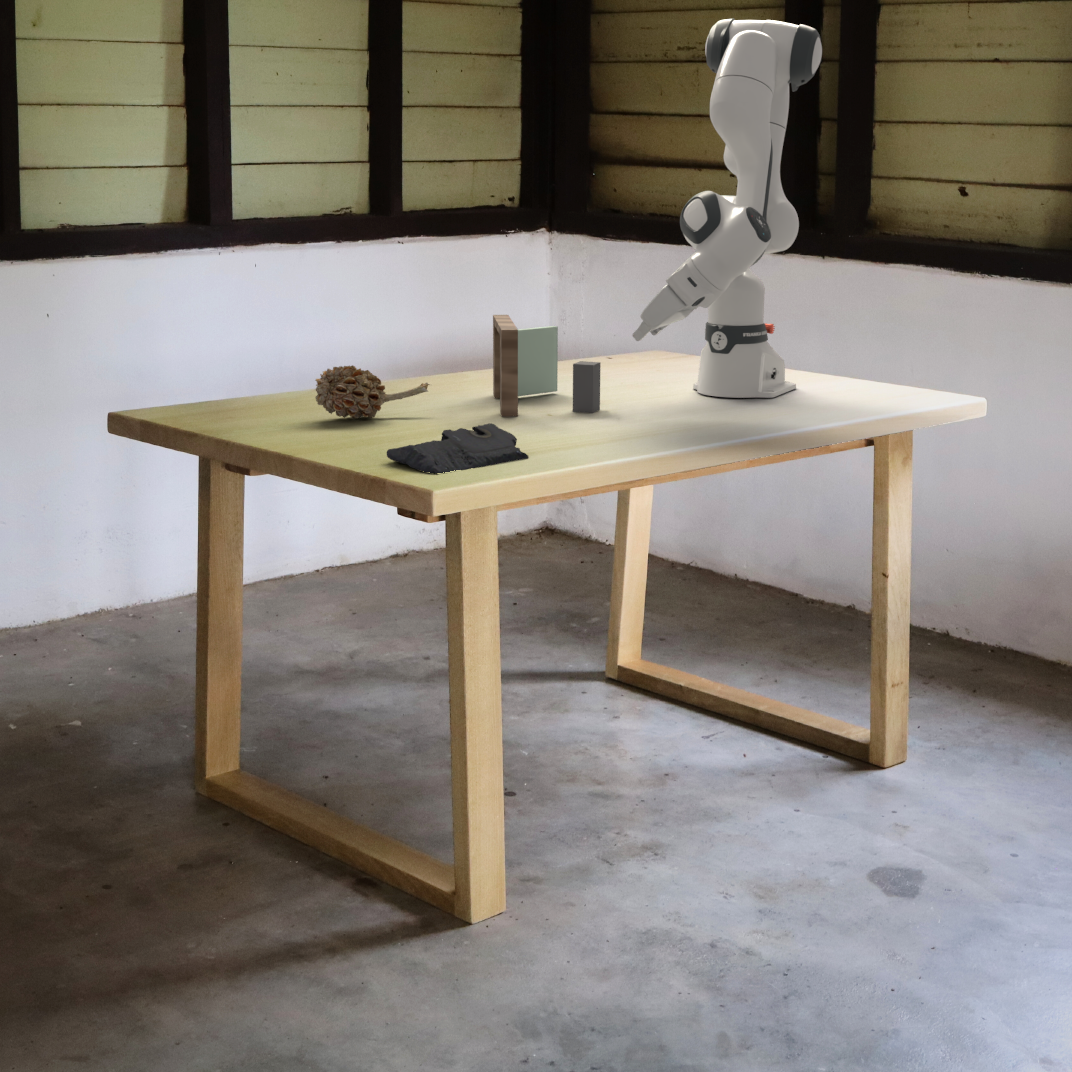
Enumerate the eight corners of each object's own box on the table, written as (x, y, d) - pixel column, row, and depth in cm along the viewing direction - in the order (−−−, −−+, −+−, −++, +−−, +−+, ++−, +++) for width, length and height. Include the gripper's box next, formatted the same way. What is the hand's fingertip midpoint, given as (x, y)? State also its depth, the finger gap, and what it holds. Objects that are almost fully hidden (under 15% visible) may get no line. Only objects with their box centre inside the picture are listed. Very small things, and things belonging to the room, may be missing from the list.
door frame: (493, 395, 303) (492, 314, 299) (508, 394, 303) (508, 314, 299) (501, 416, 279) (501, 329, 275) (517, 416, 279) (517, 329, 275)
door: (507, 397, 297) (507, 331, 293) (498, 396, 299) (498, 330, 295) (557, 391, 305) (557, 326, 301) (548, 389, 307) (548, 325, 304)
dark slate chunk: (372, 464, 240) (371, 434, 239) (476, 445, 255) (476, 417, 254) (433, 479, 230) (433, 448, 228) (538, 459, 244) (538, 430, 243)
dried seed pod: (325, 426, 269) (323, 371, 266) (307, 418, 277) (305, 364, 275) (438, 417, 279) (438, 363, 276) (418, 409, 287) (417, 356, 284)
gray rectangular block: (580, 408, 289) (580, 361, 286) (599, 409, 287) (600, 362, 285) (572, 411, 285) (573, 363, 283) (592, 412, 284) (593, 365, 281)
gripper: (701, 266, 282) (650, 317, 288) (668, 275, 263) (614, 328, 269) (723, 291, 281) (672, 341, 287) (692, 301, 263) (637, 354, 269)
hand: (643, 335), depth 278 cm, fingers open, 8 cm apart
